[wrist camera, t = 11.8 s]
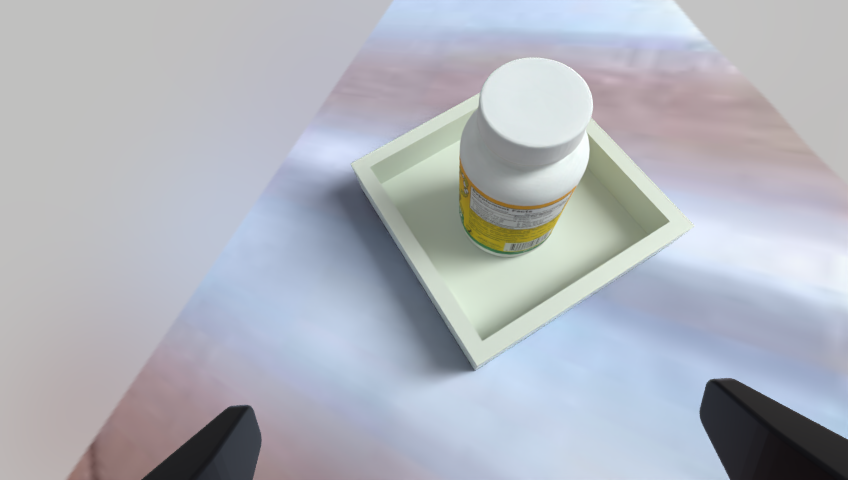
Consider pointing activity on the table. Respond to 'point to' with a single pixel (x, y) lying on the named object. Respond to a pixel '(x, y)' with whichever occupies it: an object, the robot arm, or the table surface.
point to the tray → (521, 275)
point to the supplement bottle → (523, 154)
